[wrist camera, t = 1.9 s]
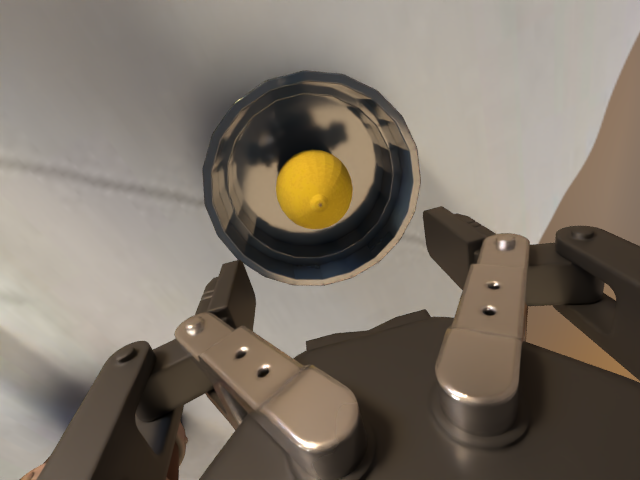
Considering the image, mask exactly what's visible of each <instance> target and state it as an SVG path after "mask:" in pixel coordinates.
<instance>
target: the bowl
mask: <svg viewBox="0 0 640 480" xmlns="http://www.w3.org/2000/svg"><path fill="white" fill-rule="evenodd" d="M311 149H313V150H322V151H325V152H328V153H330V154H332V155H334V156H335V157H336V158H338V159H339V160H340V161H341V162H342V163H343V165H344V166H345V167H346V168H347V170H348V173H349V175H350V177H351V181H352V187H353V191H352V200H351V203H350V206H349V209H348V210H347V212H346V213H345V215H344V216H343V217H342V218H341V219H340V220H339V221H338V222H337V223H335V224H333V225H331V226H329V227H326V228H323V229H309V228H304V227H302V226H299V225H297V224H295V223H294V222H293V221H292V220H290V219H289V218H288V217H287V216H286V214H285V213H284V212H283V210H282V209H281V207H280V204H279V202H278V200H277V193H276V183H277V177H278V175H279V172H280V170H281V168H282V166H283V165H284V164H285V162H286V161H287V160H288V159H290V158H291V157H292V156H293V155H295V154H297V153H299V152H301V151H305V150H311ZM420 184H421V177H420V169H419V160H418V151H417V146H416V144H415V142H414V140H413V138H412V136H411V133H410V131H409V129H408V127H407V125H406V123H405V121H404V118H403V117H402V115H401V114H400V113H399V112H398V111H397V110H396V109H395V108H394V107H393V106H392V105H391V104H390V103H389V102H388V101H387V100H386V99H385V98H384V97H383V96H382V95H381V94H380V93H379V92H378V91H377V90H375V89H373V88H371V87H369V86H367V85H365V84H363V83H361V82H359V81H357V80H355V79H352V78H350V77H348V76H346V75H343V74H338V73H327V72H316V71H300V72H296V73H293V74H289V75H285V76H281V77H278V78H274V79H270V80H267V81H265V82H264V83H262V84H261V85H259V86H258V87H256V88H255V89H254V90H252V91H251V92H249V93H248V94H246V95H245V96H243V97H242V98H241V99H239V100H238V101H236V102H235V103H234V104H233V106H232V107H231V108H230V110H229V111H228V113H227V114H226V115H225V117H224V118H223V120H222V121H221V123H220V124H219V125H218V127H217V128H216V130H215V131H214V132H213V134H212V137H211V141H210V144H209V148H208V151H207V155H206V159H205V162H204V166H203V186H204V202H205V206H206V209H207V211H208V214H209V216H210V219H211V221H212V224H213V226H214V228H215V231H216V233H217V235H218V237H219V238H220V239H221V240H222V241H223V243H224V244H225V245H226V246H227V247H228V249H229V250H230V251H231V252H232V253H233V255H234V256H235V257H236V258H237V259H238V260H241V261H242V262H243V263H244V264H245V265H247V266H248V267H250V268H252V269H253V270H255V271H256V272H258V273H259V274H261V275H262V276H264V277H267V278H270V279H274V280H277V281H280V282H284V283H287V284H291V285H322V286H323V285H327V284H331V283H335V282H339V281H342V280H346V279H350V278H352V277H355V276H356V275H358V274H360V273H361V272H363V271H365V270H367V269H368V268H370V267H372V266H373V265H375V264H377V263H378V262H380V261H381V259H382V258H383V257H384V256H385V255H386V254H387V253H388V252H389V251H390V250H391V249H392V248H393V247H394V246H395V245H396V244H397V243H398V242H399V241H400V239H401V237H402V236H403V234H404V232H405V230H406V228H407V226H408V224H409V222H410V220H411V219H412V217H413V215H414V213H415V209H416V204H417V199H418V194H419V189H420Z"/></svg>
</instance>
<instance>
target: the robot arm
mask: <svg viewBox="0 0 640 480" xmlns="http://www.w3.org/2000/svg"><path fill="white" fill-rule="evenodd" d="M423 221H424V230H425V238H426V246H427V250H428V252H429V254H430V256H431V258H432V259H433V260H434V261H435V262H436V263H437V264H438V265H439V266H440V267H441V268H442V269H443V270H444V271H445V272H446V273H447V274H448V275H449V277H450V278H451V279H452V280H453V281H454V282H455V283H456V284H457V285H458V286H459V287H460V288H461V289H462V290H463V292H462V295H461V298H460V301H459V305H458V308H457V311H456V314H455V317H454V318H450V317H431V316H430V315H429V313H428V312H427V310H426V309H424V310H421V311H417V312H413V313H410V314H406V315H402V316H398V317H395V318H393V319H391V320H389V321H387V322H385V323H383V324H381V325H379V326H377V327H375V328H372V329H370V330H367V331H358V332H346V333H335V334H331V335H328V336H324V337H320V338H317V339H313V340H309V341H306V347H307V351H305V352H303V353H301V354H299V355H298V356H296V357H295V358H291V357H290V356H288V355H287V354H285V353H284V352H282V351H281V350H279V349H278V348H276V347H275V346H273V345H272V344H271V343H269V342H268V341H266V340H265V339H263V338H262V337H260V336H259V335H257V334H256V333H254V332H253V325H254V316H255V307H256V299H255V294H254V291H253V288H252V285H251V283H250V280H249V277H248V275H247V272H246V269H245V267H244V264H243V262H242V261H241V260H236V261H233V262H229V263H225V264H223V265H222V268H221V271H220V274H219V277H216V278H213V279H212V280H211V281H210V282H209V283H208V284H207V286H206V288H205V290H204V294H203V295H202V298H201V301H200V303H199V306H198V308H197V311H196V313H195V315H194V316H192V317H190V318H188V319H186V320H185V321H184V322H182V323H181V324H180V325H179V326H178V327H177V329H176V331H175V334H174V335H175V338H176V339H174V340H172V341H170V342H168V343H166V344H164V345H162V346H160V347H158V348H156V349H153V350H152V348H151V346H150V345H149V343H148V342H146V341H137V342H134V343H131V344H129V345H126V346H124V347H123V348H121V349H119V350H118V351H117V352H115V353H114V354H113V355H112V356H111V357H110V358H109V359H108V360H107V361H106V363H105V364H104V366H103V368H102V369H101V371H100V373H99V375H98V376H97V378H96V380H95V381H94V383H93V385H92V386H91V388H90V390H89V391H88V393H87V395H86V397H85V398H84V400H83V402H82V403H81V405H80V407H79V408H78V410H77V412H76V413H75V415H74V417H73V419H72V420H71V422H70V424H69V425H68V427H67V429H66V430H65V432H64V434H63V435H62V437H61V439H60V441H59V442H58V444H57V446H56V447H55V449H54V451H53V452H52V454H51V456H50V457H49V459H48V461H47V463H46V464H45V466H44V468H43V469H42V471H41V473H40V474H39V476H38V478H37V479H36V480H166V476H167V472H168V468H169V464H170V460H171V456H172V452H173V448H174V444H175V440H176V436H177V432H178V428H179V424H180V420H181V416H182V412H183V407H184V404H186V403H188V402H190V401H191V400H193V399H195V398H197V397H199V396H201V395H203V394H206V395H207V397H208V398H209V399H210V400H211V402H212V403H213V404H214V405H215V406H216V407H217V409H218V410H219V411H220V412H221V413H222V414H223V416H224V417H225V418H226V419H227V420H228V421H229V423H230V424H231V425H232V426H233V428H234V429H235V432H234V433H233V435H232V436H231V437H230V439H229V440H228V441H227V443H226V444H225V445H224V447H223V448H222V449H221V451H220V452H219V453H218V455H217V456H216V457H215V459H214V460H213V461H212V463H211V464H210V465H209V467H208V468H207V470H206V471H205V472H204V474H203V475H202V476H201V478H200V479H199V480H640V383H639V382H637V381H634V380H631V379H629V378H627V377H624V376H621V375H618V374H615V373H613V372H610V371H607V370H604V369H601V368H599V367H596V366H593V365H590V364H587V363H584V362H581V361H579V360H576V359H573V358H570V357H567V356H565V355H561V354H559V353H556V352H553V351H550V350H548V349H545V348H542V347H539V346H536V345H533V344H530V343H527V342H526V331H527V313H528V306H544V305H553V307H554V308H555V309H556V310H557V311H558V312H560V313H561V314H562V315H563V316H564V317H565V318H567V319H568V320H569V321H570V322H571V323H573V324H574V325H575V326H576V327H577V328H578V329H580V330H581V331H582V332H583V333H584V334H586V335H587V336H588V337H589V338H590V339H591V340H593V341H594V342H595V343H596V344H597V345H598V346H600V347H601V348H602V349H603V350H604V351H606V352H607V353H608V354H609V355H610V356H611V357H613V358H614V359H615V360H616V361H617V362H618V363H620V364H621V365H622V366H623V367H624V368H625V369H627V370H628V371H629V372H630V373H631V374H633V375H634V376H635V377H636V378H637V379H639V380H640V246H638V245H636V244H633V243H631V242H629V241H627V240H625V239H622V238H620V237H618V236H616V235H614V234H611V233H609V232H607V231H605V230H602V229H599V228H596V227H590V226H570V227H566V228H562V229H560V230H558V231H557V233H556V240H555V243H546V244H535V245H530V242H529V240H528V239H527V238H525V237H523V236H521V235H517V234H511V233H502V234H495V233H494V232H492V231H491V230H489V229H487V228H486V227H484V226H481V224H479V223H478V222H475V220H473V219H471V218H470V217H468V216H465V215H461V214H453V213H451V212H450V211H448V210H447V209H445V208H444V207H442V206H441V207H437V208H433V209H429V210H426V211H424V212H423ZM604 282H605V283H606V284H608V285H609V286H610V287H611V288H612V290H613V291H614V293H615V295H616V301H615V300H614V299H612V298H611V297H609V296H607V295H606V294H604V293H603V289H604ZM135 414H136V416H135Z"/></svg>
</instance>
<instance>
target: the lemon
mask: <svg viewBox="0 0 640 480" xmlns="http://www.w3.org/2000/svg"><path fill="white" fill-rule="evenodd" d="M352 191H353V187H352V181H351V177H350V175H349V173H348V170H347V168H346V167H345V166H344V165H343V163H342V162H341V161H340V160H339V159H338V158H336V157H335V156H334V155H332V154H330V153H328V152H325V151H322V150H313V149H311V150H305V151H301V152H299V153H297V154H295V155H293V156H292V157H291V158H290V159H288V160H287V161H286V162H285V164H284V165H283V166H282V168H281V170H280V172H279V175H278V177H277V183H276V193H277V200H278V202H279V204H280V207H281V209H282V210H283V212H284V213H285V214H286V216H287V217H288V218H289V219H290V220H292V221H293V222H294V223H295V224H297V225H299V226H302V227H304V228H309V229H323V228H326V227H329V226H331V225H333V224H335V223H337V222H338V221H339V220H340V219H341V218H342V217H343V216H344V215H345V213H346V212H347V210H348V209H349V206H350V203H351V200H352Z"/></svg>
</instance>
